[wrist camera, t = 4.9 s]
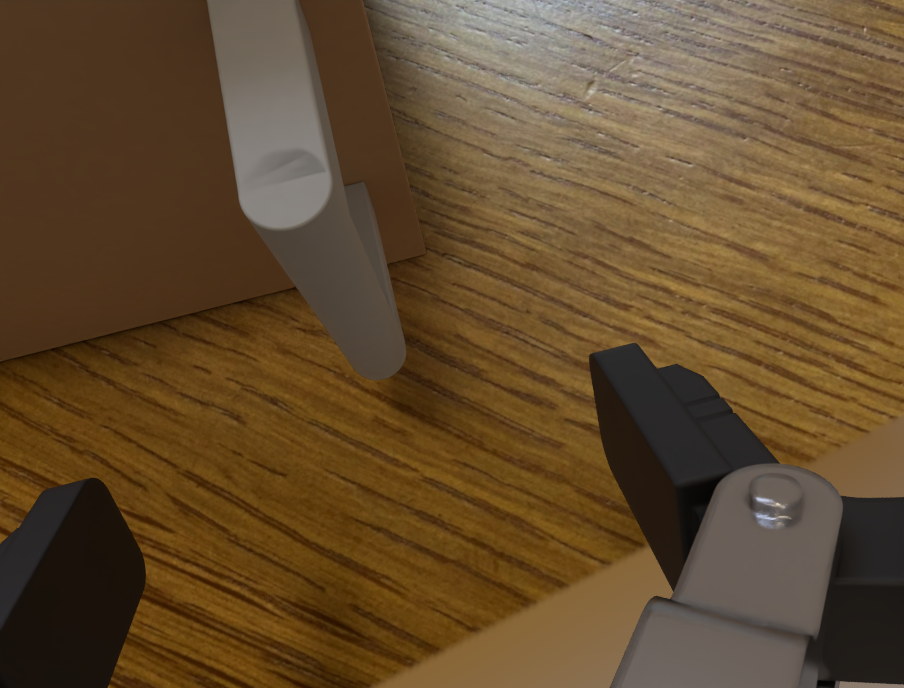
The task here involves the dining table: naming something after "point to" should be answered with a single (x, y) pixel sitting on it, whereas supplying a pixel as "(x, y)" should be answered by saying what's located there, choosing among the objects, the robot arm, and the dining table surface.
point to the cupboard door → (197, 169)
